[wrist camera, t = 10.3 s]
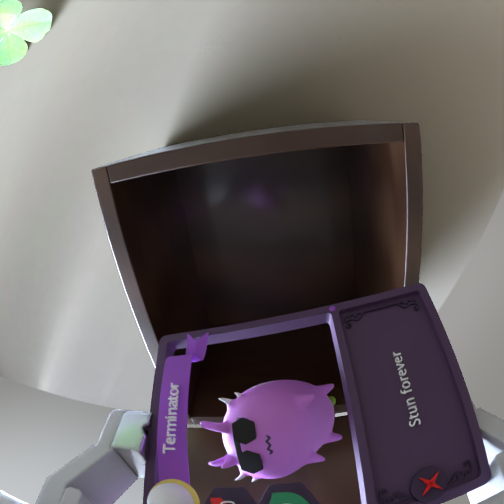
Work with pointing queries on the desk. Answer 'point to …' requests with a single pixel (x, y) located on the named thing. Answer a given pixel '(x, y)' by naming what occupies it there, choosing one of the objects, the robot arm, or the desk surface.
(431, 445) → the game card
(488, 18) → the desk surface
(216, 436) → the cover
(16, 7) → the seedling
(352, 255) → the case
